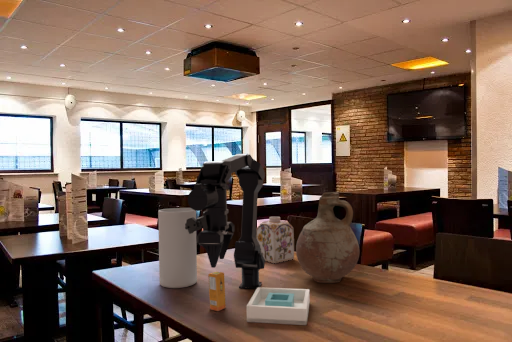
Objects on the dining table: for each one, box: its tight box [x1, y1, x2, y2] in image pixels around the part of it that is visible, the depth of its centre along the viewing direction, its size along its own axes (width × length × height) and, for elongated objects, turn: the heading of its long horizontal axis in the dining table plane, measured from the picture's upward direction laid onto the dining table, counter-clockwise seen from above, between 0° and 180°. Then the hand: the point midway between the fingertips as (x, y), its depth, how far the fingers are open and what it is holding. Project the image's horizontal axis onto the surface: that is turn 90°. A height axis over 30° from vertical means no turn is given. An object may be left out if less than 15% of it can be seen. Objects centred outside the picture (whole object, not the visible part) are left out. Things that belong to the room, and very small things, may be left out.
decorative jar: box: [256, 216, 295, 264], centre depth 169 cm, size 12×12×18 cm
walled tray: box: [246, 286, 311, 326], centre depth 107 cm, size 16×15×4 cm
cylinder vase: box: [157, 207, 198, 289], centre depth 136 cm, size 12×12×25 cm
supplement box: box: [207, 271, 227, 312], centre depth 110 cm, size 3×3×10 cm
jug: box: [295, 191, 361, 284], centre depth 137 cm, size 22×22×30 cm
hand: (217, 263), depth 110 cm, fingers open, 9 cm apart
